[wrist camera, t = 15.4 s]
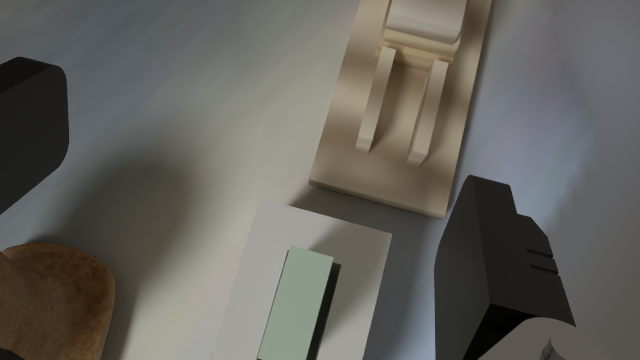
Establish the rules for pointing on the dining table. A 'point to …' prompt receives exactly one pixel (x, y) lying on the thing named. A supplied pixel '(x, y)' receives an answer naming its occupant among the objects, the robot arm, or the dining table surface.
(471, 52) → the rack
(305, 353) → the tall sheet
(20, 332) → the stone cup
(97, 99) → the dining table surface
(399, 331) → the dining table surface
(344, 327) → the sheet stand
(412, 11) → the offcut stack
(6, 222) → the dining table surface
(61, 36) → the dining table surface
